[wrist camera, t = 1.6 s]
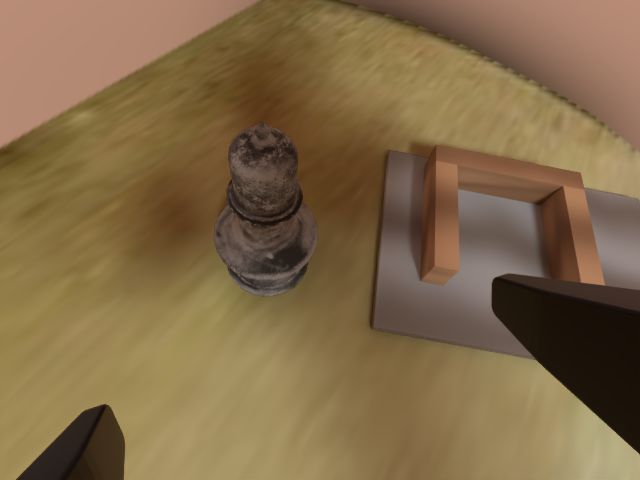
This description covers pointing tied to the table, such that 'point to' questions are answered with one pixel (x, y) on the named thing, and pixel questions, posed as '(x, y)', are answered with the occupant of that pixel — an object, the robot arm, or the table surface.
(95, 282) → the table surface
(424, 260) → the wooden u-frame tray
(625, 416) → the robot arm
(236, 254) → the salt shaker
